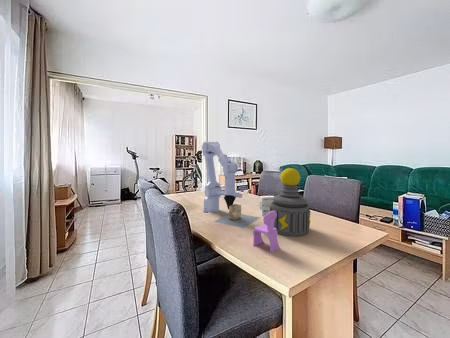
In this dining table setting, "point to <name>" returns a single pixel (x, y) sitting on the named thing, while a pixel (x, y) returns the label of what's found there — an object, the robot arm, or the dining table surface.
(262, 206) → the ink box
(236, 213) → the maple block
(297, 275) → the dining table surface
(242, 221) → the slate board
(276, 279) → the dining table surface
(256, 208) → the dining table surface
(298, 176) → the decorative lamp
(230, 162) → the robot arm
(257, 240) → the toy chair
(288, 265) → the dining table surface
